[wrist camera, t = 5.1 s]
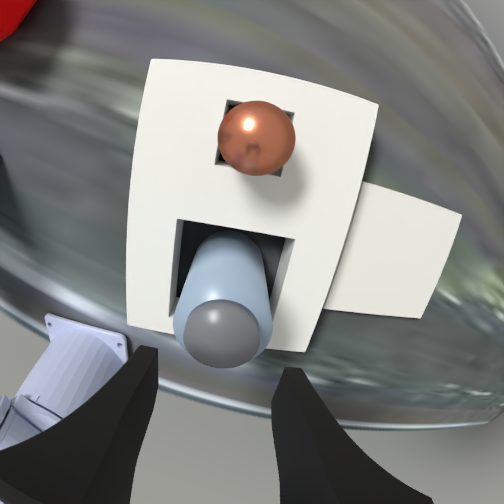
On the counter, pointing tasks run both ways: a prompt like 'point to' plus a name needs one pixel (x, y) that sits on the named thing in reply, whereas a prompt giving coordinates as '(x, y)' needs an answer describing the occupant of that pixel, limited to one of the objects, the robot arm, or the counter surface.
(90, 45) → the counter surface
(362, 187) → the stone coaster
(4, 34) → the ball
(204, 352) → the capped blue cylinder
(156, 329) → the white panel with holes
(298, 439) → the robot arm
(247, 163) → the plunger
